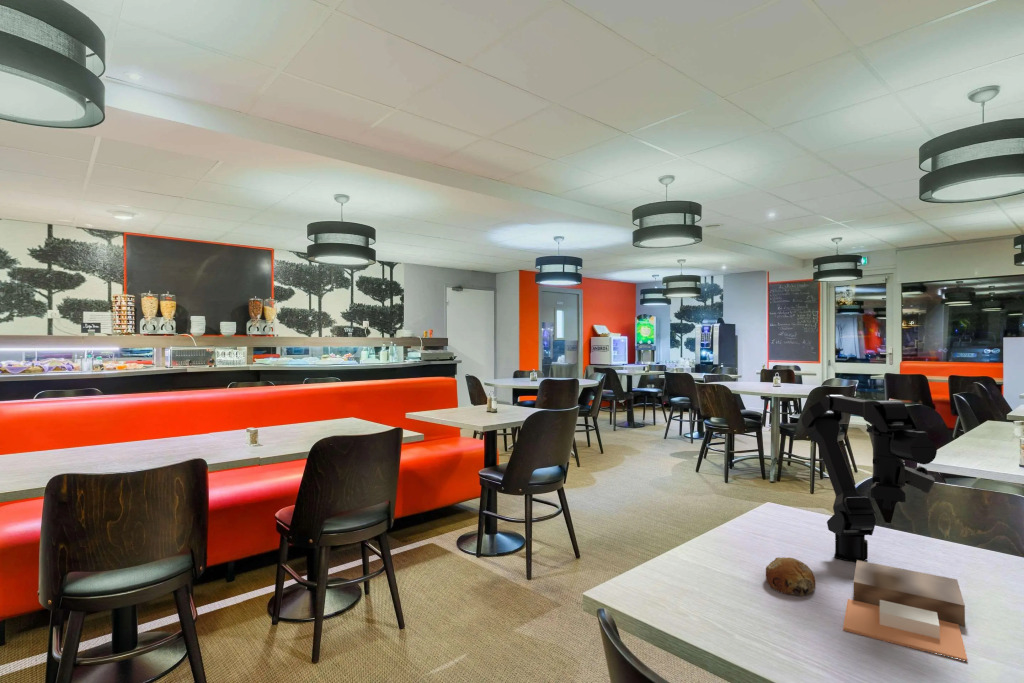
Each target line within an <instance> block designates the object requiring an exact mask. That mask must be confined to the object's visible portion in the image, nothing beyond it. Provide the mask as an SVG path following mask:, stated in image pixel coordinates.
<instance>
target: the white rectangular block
mask: <svg viewBox="0 0 1024 683" xmlns="http://www.w3.org/2000/svg"><path fill="white" fill-rule="evenodd" d="M880 625H884V626H888V627H892V628H896V629H900V630H904V631H908V632H912V633H917V634H921V635H925V636H929V637H933V638H937V639H940V625H939V620H938V615H937V612H933V611H928V610H924V609H919V608H915V607H910V606H906V605H901V604H897V603H892V602H888V601H884V600H880Z"/></svg>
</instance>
